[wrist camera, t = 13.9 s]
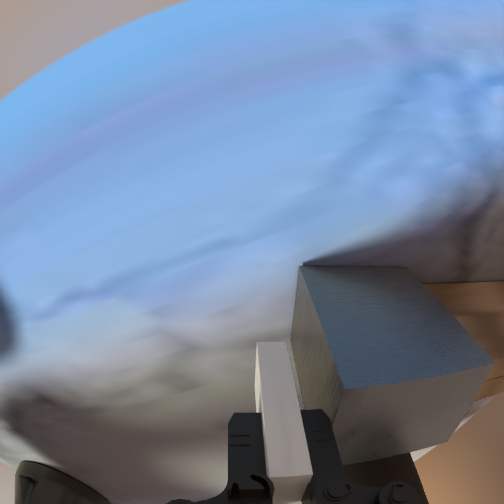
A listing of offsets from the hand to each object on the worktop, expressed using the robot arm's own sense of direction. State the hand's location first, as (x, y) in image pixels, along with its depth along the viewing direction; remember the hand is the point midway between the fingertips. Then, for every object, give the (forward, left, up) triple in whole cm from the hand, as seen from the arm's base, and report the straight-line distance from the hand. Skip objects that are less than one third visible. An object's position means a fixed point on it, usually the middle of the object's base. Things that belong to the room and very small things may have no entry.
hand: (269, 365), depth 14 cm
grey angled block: (+3, -5, -5) cm, 8 cm away
